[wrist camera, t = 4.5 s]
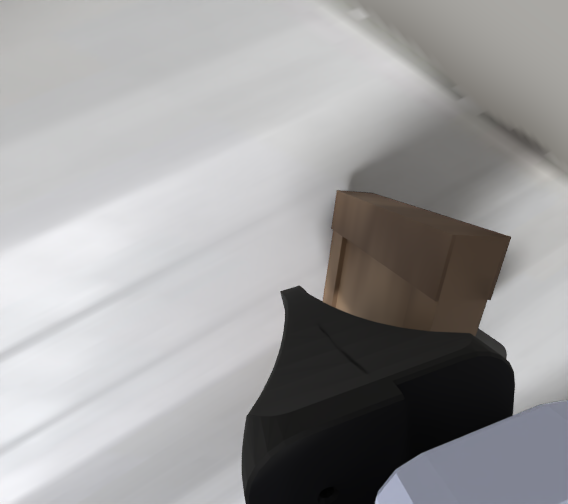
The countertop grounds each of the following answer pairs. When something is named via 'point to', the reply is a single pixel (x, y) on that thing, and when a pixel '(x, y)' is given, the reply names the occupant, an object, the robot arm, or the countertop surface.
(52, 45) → the countertop surface
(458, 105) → the countertop surface
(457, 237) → the gate
